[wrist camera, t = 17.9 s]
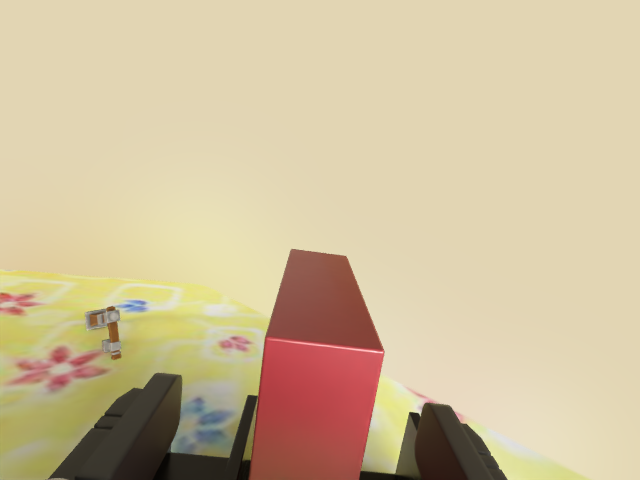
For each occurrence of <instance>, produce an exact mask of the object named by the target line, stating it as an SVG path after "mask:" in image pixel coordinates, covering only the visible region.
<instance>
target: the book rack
mask: <svg viewBox="0 0 640 480" xmlns="http://www.w3.org/2000/svg"><path fill="white" fill-rule="evenodd" d="M257 400H258V396H254V395H248V396H247V400H246V403H245V406H244V410H243V413H242V417H241V420H240V423H239V427H238V430H237V434H236V437H235V441H234V444H233V447H232V451H231V454H230V458H223V457H213V456H202V455H192V454H182V453H171V445H170V447H169V449H168V451H167V452H166V454H165V456H164V458H163V460H162V462H161V464H160V466H159V468H158V470H157V472H156V474H155V476H154V477H153V479H152V480H249V472H250V463H251V452H252V444H253V435H254V426H255V418H256V409H257ZM419 421H420V415H419V413H413V412H409V416H408V421H407V425H406V429H405V434H404V438H403V442H402V447H401V451H400V456H399V460H398V464H397V469H396V473H395V474H388V473H378V472H367V471H361V472H360V477H359V480H422V478H421V475H420V472H419V469H418V467H417V464H416V460H415V453H414V444H415V438H416V434H417V430H418V425H419Z"/></svg>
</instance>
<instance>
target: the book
mask: <svg viewBox="0 0 640 480" xmlns="http://www.w3.org/2000/svg"><path fill="white" fill-rule="evenodd" d="M383 357H384V349H383V346H382V344H381V341H380V339H379V336H378V334H377V331H376V329H375V326H374V324H373V321H372V319H371V317H370V314H369V312H368V309H367V306H366V304H365V301H364V299H363V296H362V294H361V291H360V289H359V286H358V284H357V281H356V279H355V276H354V274H353V271H352V269H351V266H350V264H349V261H348V259H347V257H346V256H341V255H334V254H326V253H318V252H311V251H303V250H296V249H292V250H291V251H290V254H289V258H288V261H287V265H286V268H285V271H284V275H283V278H282V282H281V285H280V289H279V292H278V295H277V299H276V302H275V306H274V309H273V313H272V316H271V319H270V323H269V326H268V329H267V333H266V336H265V342H264V351H263V359H262V368H261V377H260V385H259V394H258V403H257V411H256V420H255V429H254V437H253V446H252V455H251V463H250V472H249V480H359V477H360V472H361V467H362V462H363V457H364V452H365V447H366V442H367V437H368V432H369V427H370V422H371V417H372V412H373V407H374V402H375V397H376V392H377V387H378V382H379V377H380V372H381V367H382V362H383Z"/></svg>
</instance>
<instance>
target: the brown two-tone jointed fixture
mask: <svg viewBox="0 0 640 480" xmlns="http://www.w3.org/2000/svg"><path fill="white" fill-rule="evenodd" d="M106 311H107V312H106ZM85 320H86V330H90V329H95V328H100V327H105V326H108V329H109V336H110V339H108V340H103V341H102V347H103V351H105V353H106V352H110V351H111V355H112V359H113V360H115V359H119V358H121V351H120V349H121V342H120V341H119V335H118V326H117V321H119V320H120V313H119V310H115V307H113V306H111V307H108V308H106V309H101V310H95V311H90V312H85Z"/></svg>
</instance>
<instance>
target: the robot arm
mask: <svg viewBox="0 0 640 480" xmlns="http://www.w3.org/2000/svg"><path fill="white" fill-rule="evenodd" d="M181 393H182V376H181V375H175V374H166V373H156V374H154V376H153V377H152V378H151V379H150V381H149V382H148V383H147V384H146V386H145V387H144V388H143V389H139V388H133V389H132V390H130V391H129V392H127V393H126V394H124V395H122V396H121V397H119V398H118V399H117V400H116V401H115V402H114V403H113V404H112V405H111V407H110V408H109V409H108V410H107V411H106V412H105V415H104V416H102V417H101V418H100V419H99V420H98V422H97V423H96V424H95V426H94V428H92V429H91V430H90V431H89V432H88V433H87V434H86V436H85V437H84V438H83V439H82V440H81V441H80V443H79V444H78V445H77V446H76V447H75V448H74V449H73V451H72V452H71V453H70V454H69V455H68V456H67V458H66V459H65V460H64V461H63V462H62V463H61V465H60V466H59V467H58V468H57V469H56V470H55V472H54V473H53V474H52V475H51V476H50V477H49V478H48V479H47V480H152V479H153V477H154V476H155V474H156V472H157V470H158V468H159V466H160V464H161V462H162V460H163V458H164V456H165V454H166V452H167V451H168V449H169V447H170V445H171V443H172V441H173V439H174V437H175V434H176V432H177V428H178V425H179V420H180V410H181ZM414 453H415V460H416V464H417V467H418V469H419V472H420V475H421V478H422V480H507V478H506V477H505V475H504V473H503V472H502V470H500V469H499V466H498V464H497V462H496V461H495V459H494V458H493V456H491V453H490V451H489V450H488V448H487V447H486V445H485V443H484V442H483V440H482V439H481V437H480V436H478V435H477V434H476V433H475V432H474V431H473V430H472V429H471V428H470V427H469V426H468V425H467V424H462V423H460V421H459V419H458V418H457V416H456V414H455V413H454V411H453V409H452V408H451V407H450V406H449V405H444V404H435V403H425V404H424V406H423V409H422V413H421V417H420V421H419V425H418V430H417V434H416V438H415V444H414Z"/></svg>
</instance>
